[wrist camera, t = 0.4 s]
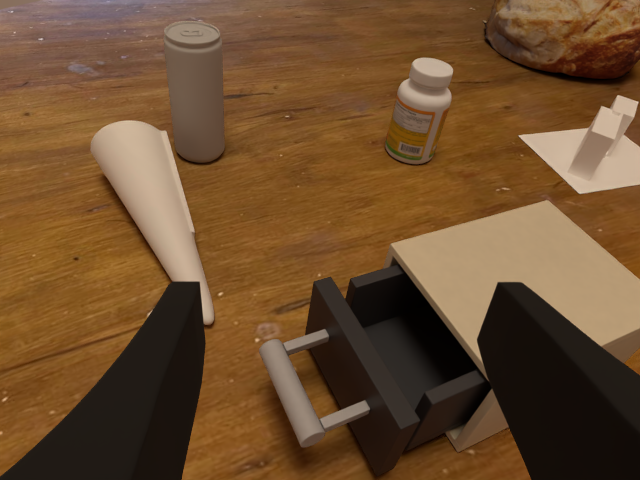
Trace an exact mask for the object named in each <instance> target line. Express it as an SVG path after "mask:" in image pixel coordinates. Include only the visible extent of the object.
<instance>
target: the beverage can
mask: <svg viewBox="0 0 640 480" xmlns="http://www.w3.org/2000/svg"><path fill="white" fill-rule="evenodd" d="M164 33H165V36H164V50H165V59H166V68H167V77H168V87H169V96H170V105H171V114H172V123H173V133H174V142H175V149H176V151H177V152H178V154H179V155H180V156H182V157H183V158H184V159H186V160H188V161H192V162H197V163H205V162H210V161H213V160H215V159H217V158H218V157H219V156H220V155H221V154H222V153H223V151H224V149H225V144H224V104H223V64H222V39H221V38H220V31H219V30H218V29H217V28H216V27H215V26H213V25H210V24H207V23H204V22H198V21H182V22H176V23H173V24H170V25H169V26H167V27H166V28H165V31H164Z"/></svg>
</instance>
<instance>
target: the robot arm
mask: <svg viewBox="0 0 640 480" xmlns="http://www.w3.org/2000/svg"><path fill="white" fill-rule="evenodd" d="M477 343H478V347H479V351H480V354H481V358H482V362H483V365H484V368H485V372H486V375H487V378H488V380H489V383H490V385H491V387H492V390H493V392H494V394H495V397H496V399H497V401H498V404H499V406H500V408H501V410H502V413H503V415H504V417H505V419H506V422H507V424H508V426H509V428H510V431H511V433H512V435H513V437H514V440H515V442H516V444H517V446H518V449H519V451H520V453H521V455H522V458H523V460H524V462H525V465H526V467H527V470H528V472H529V475H530V477H531V480H640V375H639V374H637V373H636V372H634V371H633V370H632V369H630V368H629V367H628V366H626V365H625V364H624V363H622V362H621V361H620V360H618V359H617V358H615V357H614V356H613V355H612V354H610V353H609V352H608V351H606V350H605V349H604V348H603V347H601V346H600V345H599V344H597V343H596V342H595V341H594V340H592V339H591V338H590V337H589V336H587V335H586V334H585V333H584V332H582V331H581V330H580V329H579V328H578V327H576V326H575V325H574V324H573V323H571V322H570V321H569V320H568V319H567V318H565V317H564V316H563V315H562V314H561V313H559V312H558V311H557V310H556V309H555V308H553V307H552V306H551V305H550V304H549V303H547V302H546V301H545V300H544V299H543V298H541V297H540V296H539V295H538V294H536V293H535V292H534V291H533V290H531V289H530V288H529V287H528V286H526V285H525V284H524V283H522V282H498V283H497V286H496V288H495V291H494V294H493V297H492V299H491V302H490V305H489V307H488V310H487V313H486V316H485V318H484V321H483V324H482V326H481V329H480V332H479V335H478V337H477ZM204 354H205V332H204V322H203V311H202V300H201V289H200V281H173V282H172V283H170V284H169V285H168V287H167V288H166V290H165V292H164V293H163V295H162V297H161V298H160V300H159V301H158V303H157V305H156V306H155V308H154V309H153V311H152V312H151V314H150V315H149V317H148V318H147V319H146V321H145V322H144V324H143V325H142V327H141V328H140V329H139V331H138V332H137V333H136V335H135V336H134V337H133V339H132V340H131V341H130V343H129V344H128V346H127V347H126V348H125V350H124V351H123V352H122V353H121V355H120V356H119V357H118V358H117V360H116V361H115V362H114V363H113V364H112V366H111V367H110V368H109V369H108V370H107V372H106V373H105V374H104V375H103V376H102V378H101V379H100V380H99V381H98V382H97V384H96V385H95V386H94V387H93V388H92V389H91V390H90V391H89V393H88V394H87V395H86V396H85V397H84V398H83V399H82V400H81V401H80V402H79V403H78V404H77V405H76V407H75V408H74V409H73V410H72V411H71V412H70V413H69V414H68V415H67V416H66V417H65V418H64V419H63V420H62V421H61V422H60V423H59V424H58V425H57V426H56V427H55V428H54V429H53V430H52V431H50V432H49V433H48V434H47V435H46V436H45V437H44V438H43V439H42V440H41V441H40V442H39V443H38V444H37V445H36V446H35V447H34V448H33V449H32V450H30V451H29V452H28V453H27V454H26V455H25V456H24V457H23V458H22V459H20V460H19V461H18V462H17V463H16V464H15V465H14V466H12V467H11V468H10V469H9V470H8V471H6V472H5V473H4V474H3V475H2V476H0V480H181V479H182V474H183V469H184V464H185V460H186V455H187V450H188V445H189V441H190V436H191V431H192V427H193V422H194V417H195V413H196V408H197V403H198V398H199V394H200V389H201V384H202V375H203V365H204Z"/></svg>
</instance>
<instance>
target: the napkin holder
mask: <svg viewBox="0 0 640 480" xmlns="http://www.w3.org/2000/svg"><path fill="white" fill-rule="evenodd" d="M637 105H638V102H637V101H634V100H631V99H628V98H625V97H622V96H619V95H617V97H616V99H615V100H614V102H613V104H612V105H611V107H610V109H609V108H606V107H603V106H601V108H600V110H599V112H598V113H597V115H596V117H595V119H594V120H593V122H592V124H591V126H590V127H589V128H586V129H576V130H566V131H557V132H547V133H537V134H528V135H518V136H519V137H520V138H521V139H522V140H523V141H524V142H525V143H526V144H527V145H528V146H529V147H530V148H532V149H533V150H534V151H535V152H536V153H537V154H538V155H539V156H540V157H541V158H542V159H543V160H544V161H545V162H546V163H547V164H548V165H549V166H551V167H552V168H553V169H554V170H555V171H556V172H557V173H558V174H559V175H560V176H561V177H562V178H563V179H564V180H565V181H566V182H567V183H568V184H569V185H571V186H572V187H573V188H574V189H575V190H576V191H577V192H578V193H579V194H582V193H589V192H595V191H601V190H608V189H614V188H621V187H627V186H634V185H640V147H639V146H637V145H636V144H635V143H634V142H632V141H631V140H630V139H628V138H627V137H626V136H624V135H623V134H624V132H625V131H626V129H627V128H628V126H629V125H630V123H631V121H632V120H633V118H634V116H635V112H636V109H637Z"/></svg>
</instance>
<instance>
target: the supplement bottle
mask: <svg viewBox="0 0 640 480" xmlns="http://www.w3.org/2000/svg"><path fill="white" fill-rule="evenodd" d="M452 74H453V69H452V67H451V66H450V65H449V64H447V63H445V62H443V61H440V60H437V59H433V58H419V59H416V60H414V61H413V63H412V66H411V70H410V74H409V79H407V80H405V81H404V82H402V83H401V85H400V86H399V89H398V93H397V97H396V101H395V105H394V109H393V113H392V118H391V122H390V126H389V130H388V134H387V138H386V144H385V146H386V150H387V152H388V153H389V154H390V155H391V156H392V157H394V158H395V159H397V160H399V161H402V162H404V163H409V164H422V163H425V162H427V161H429V160H430V159H431V158H432V157H433V155H434V152H435V149H436V146H437V143H438V140H439V137H440V134H441V131H442V128H443V125H444V122H445V119H446V116H447V113H448V110H449V107H450V103H451V98H452V97H451V93H450V91H449V89H448V88H447V87H448V86H449V84H450V81H451V78H452Z"/></svg>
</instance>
